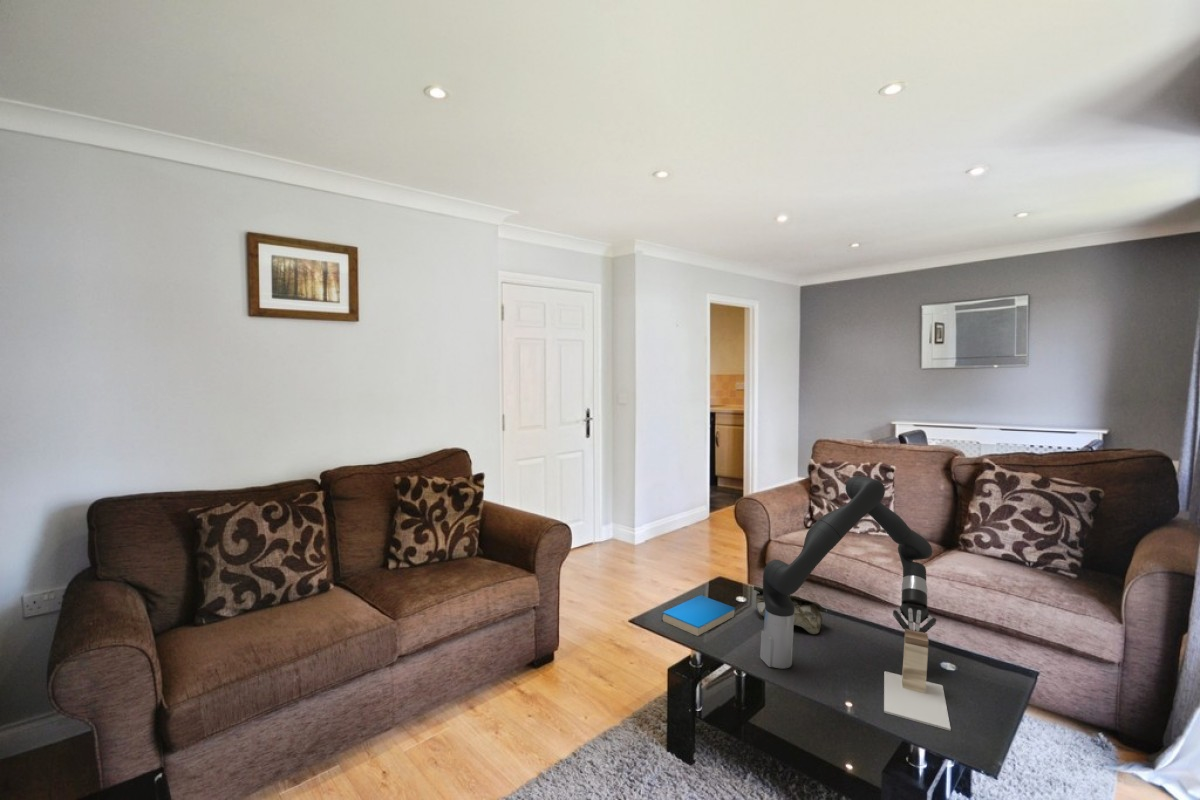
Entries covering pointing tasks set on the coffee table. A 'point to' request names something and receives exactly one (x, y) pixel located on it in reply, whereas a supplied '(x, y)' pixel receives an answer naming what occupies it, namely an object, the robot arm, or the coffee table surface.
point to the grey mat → (915, 702)
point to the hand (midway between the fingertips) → (913, 643)
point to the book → (698, 615)
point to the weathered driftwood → (798, 611)
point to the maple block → (915, 661)
